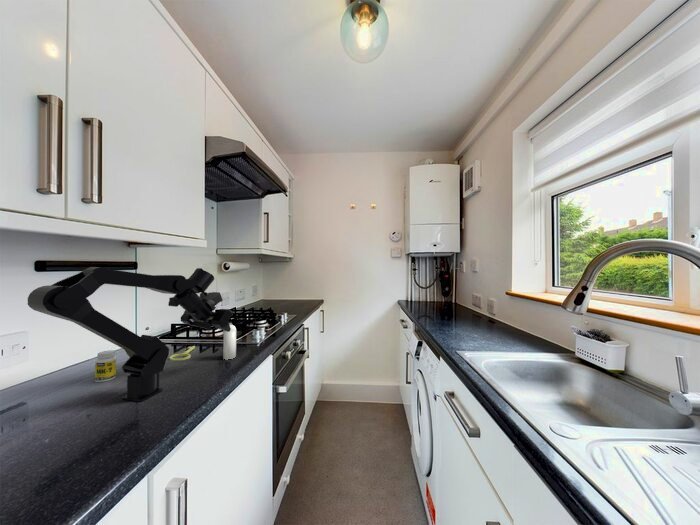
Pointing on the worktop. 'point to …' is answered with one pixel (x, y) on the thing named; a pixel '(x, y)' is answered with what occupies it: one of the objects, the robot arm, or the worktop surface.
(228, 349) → the white bottle
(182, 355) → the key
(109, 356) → the supplement bottle
